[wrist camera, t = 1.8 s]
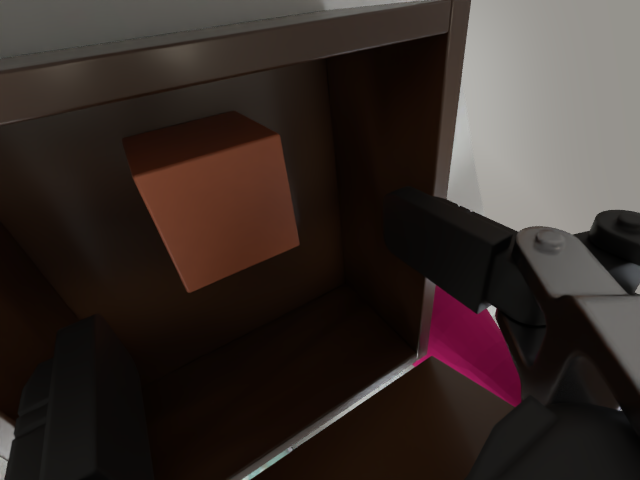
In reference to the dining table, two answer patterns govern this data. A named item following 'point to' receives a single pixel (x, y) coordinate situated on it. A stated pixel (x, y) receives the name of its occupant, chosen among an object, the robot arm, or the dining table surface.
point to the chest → (253, 282)
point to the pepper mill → (472, 347)
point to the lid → (402, 432)
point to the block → (215, 194)
